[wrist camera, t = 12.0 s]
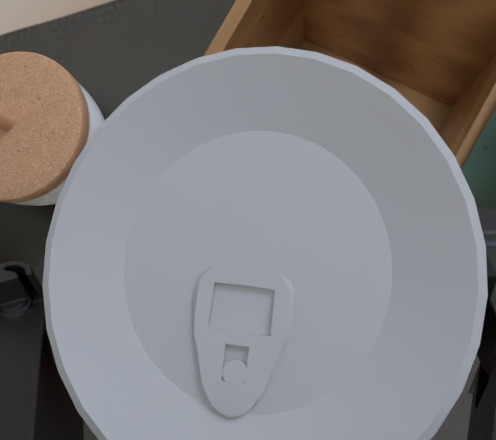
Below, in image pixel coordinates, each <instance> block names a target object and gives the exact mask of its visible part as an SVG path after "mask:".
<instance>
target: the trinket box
mask: <svg viewBox="0 0 496 440" xmlns="http://www.w3.org/2000/svg"><path fill="white" fill-rule="evenodd" d="M104 121H105V120H104V117H103V115H102V113H101V111H100V109H99V108H98V106H97V104H96V102H95V101H94V100H93V98H92V97H91V96H90V95H89V93H88V92H87V91H86V90H85V89H84V88H83V87H82V86H81V85H80V84H79V83H78V82H77V81H76V80H75V79H74V78H73V76H72V75H71V74H70V73H69V72H68V71H67V70H65V69H64V68H63V67H62V66H61V65H59V64H58V63H57V62H55V61H53V60H52V59H50V58H48V57H46V56H43V55H40V54H37V53H31V52H11V53H4V54H1V55H0V202H5V203H13V204H19V205H31V206H43V205H52V204H56V202H57V199H58V197H59V195H60V193H61V190H62V188H63V186H64V184H65V182H66V179H67V177H68V175H69V173H70V171H71V168H72V166H73V164H74V162H75V161H76V159H77V158H78V156H79V155H80V153H81V152H82V150H83V149H84V147H85V146H86V145H87V143H88V142H89V140H90V139H91V137H92V136H93V134H94V133H95V131H96V130H97V128H98V127H99V126H100V125H101V124H102V123H103V122H104Z"/></svg>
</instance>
